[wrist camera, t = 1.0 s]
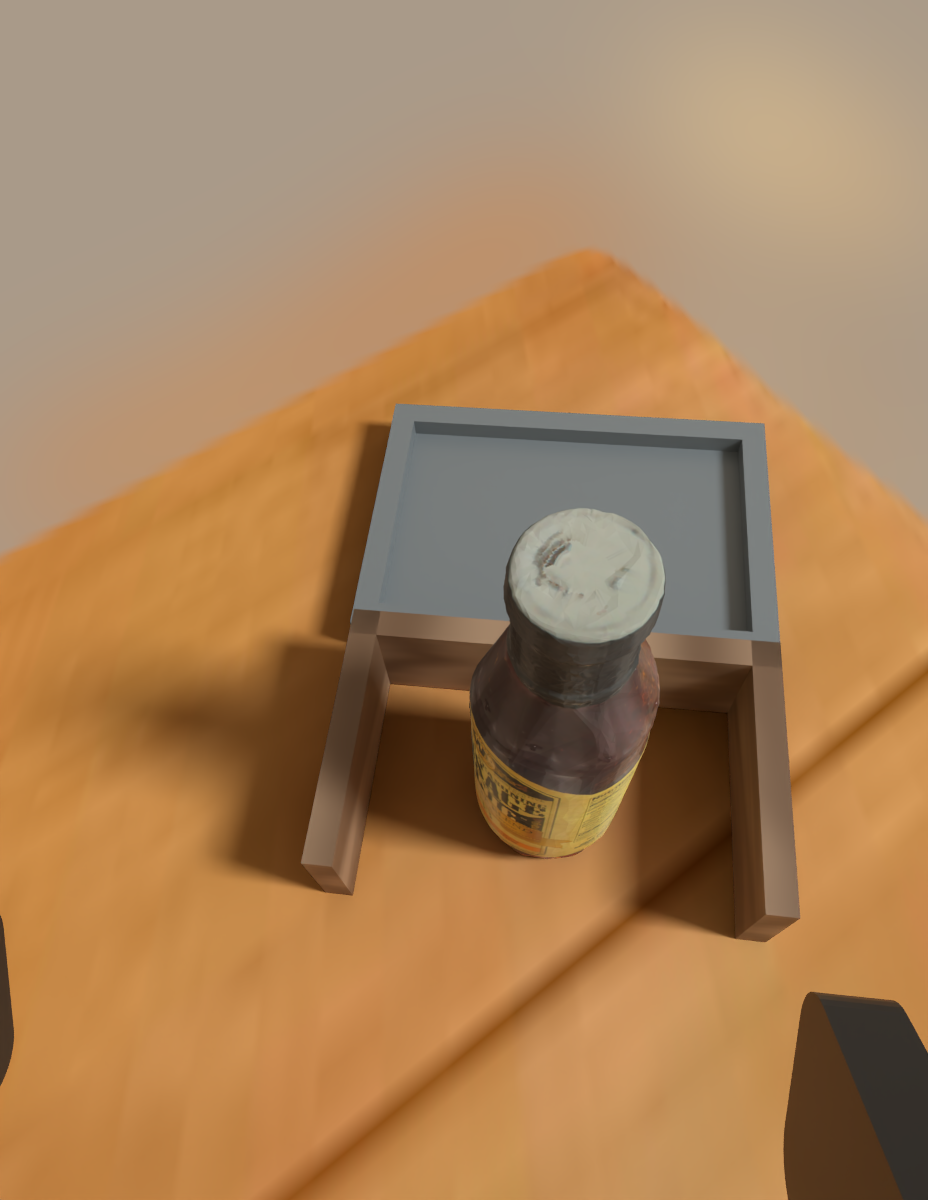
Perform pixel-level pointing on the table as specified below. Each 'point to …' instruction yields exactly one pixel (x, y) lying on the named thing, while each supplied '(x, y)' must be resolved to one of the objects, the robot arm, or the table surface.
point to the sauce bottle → (567, 682)
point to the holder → (687, 681)
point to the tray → (567, 481)
